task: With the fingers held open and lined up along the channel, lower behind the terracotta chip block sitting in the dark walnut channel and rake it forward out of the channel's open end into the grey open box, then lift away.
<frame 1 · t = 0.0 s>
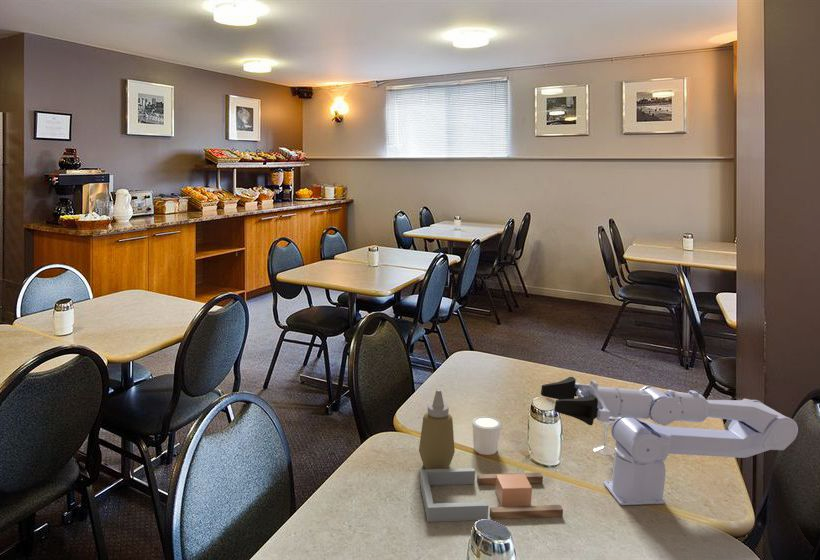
hand: (548, 397, 103), 22 cm above the table, tool horizontal, fingers open, 7 cm apart
channel: (517, 497, 106), on the table
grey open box: (454, 499, 105), on the table
squeeze bottle: (436, 466, 118), on the table
wineglass: (604, 450, 126), on the table
white cup: (485, 449, 126), on the table
chip block: (512, 498, 106), on the table
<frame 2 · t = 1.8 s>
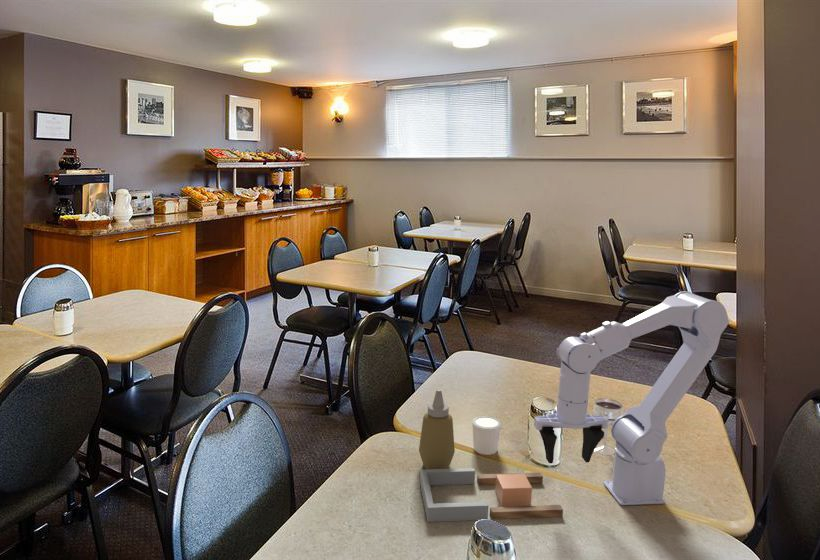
hand: (567, 460, 106), 8 cm above the table, tool pointing down, fingers open, 7 cm apart
nothing on the table moved.
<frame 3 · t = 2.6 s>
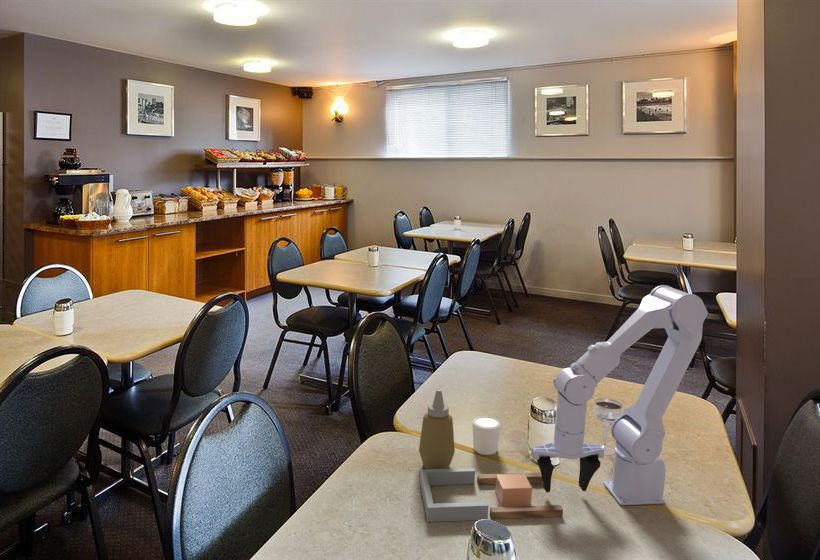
hand: (564, 489, 107), 2 cm above the table, tool pointing down, fingers open, 7 cm apart
nothing on the table moved.
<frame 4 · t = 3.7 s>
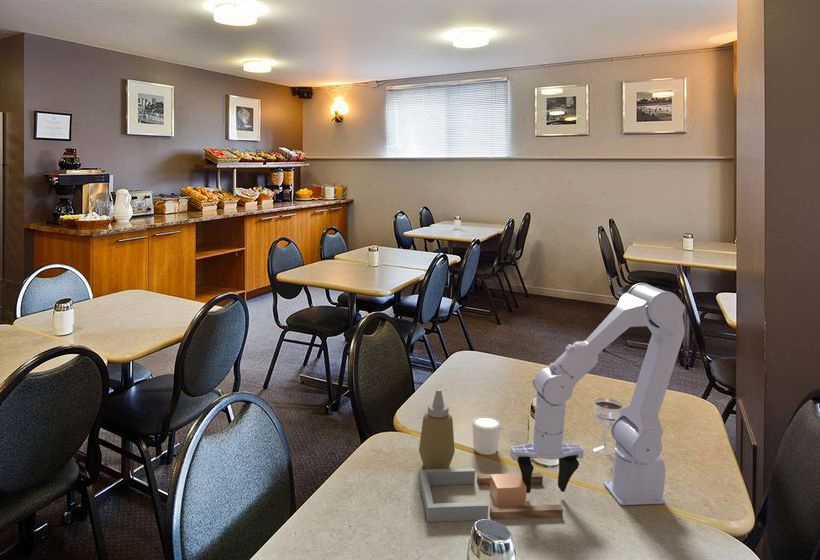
hand: (544, 489, 106), 2 cm above the table, tool pointing down, fingers open, 7 cm apart
chip block: (507, 498, 106), on the table, touching gripper
everything else where it was.
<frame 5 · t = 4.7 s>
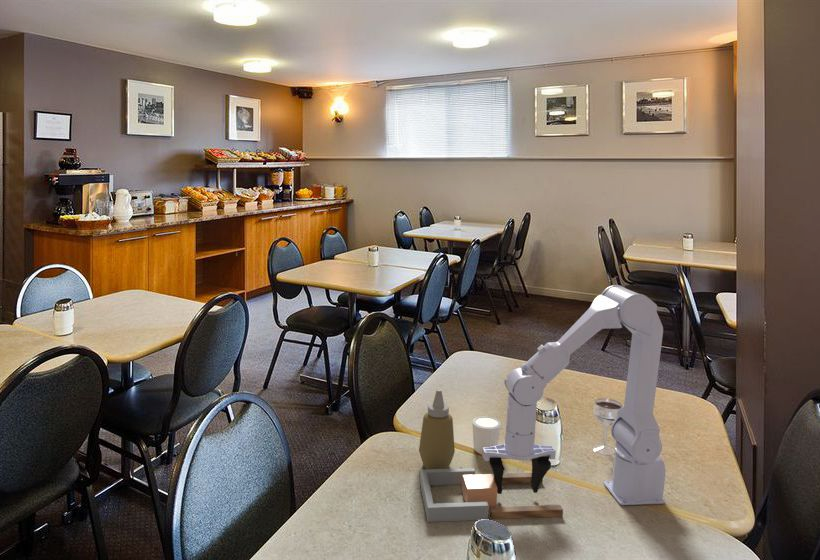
hand: (516, 490, 106), 2 cm above the table, tool pointing down, fingers open, 7 cm apart
chip block: (478, 499, 106), on the table, touching gripper
everything else where it was.
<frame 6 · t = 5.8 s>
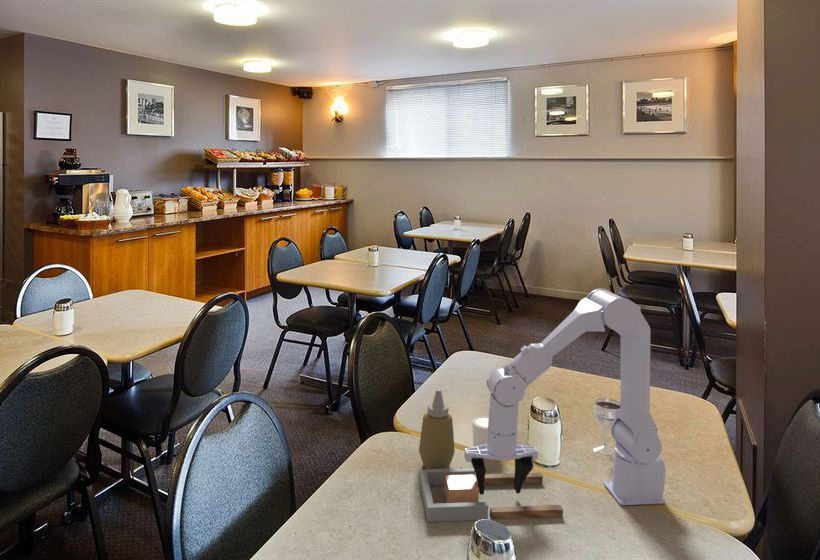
hand: (498, 491, 106), 2 cm above the table, tool pointing down, fingers open, 7 cm apart
chip block: (461, 499, 105), on the table, touching gripper
everything else where it was.
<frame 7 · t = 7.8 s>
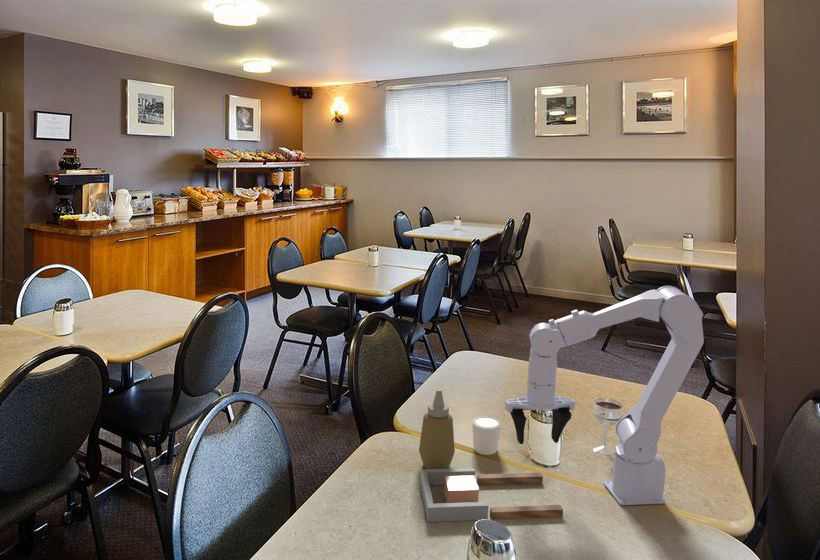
hand: (537, 441, 111), 9 cm above the table, tool pointing down, fingers open, 7 cm apart
chip block: (460, 500, 105), on the table
everything else where it was.
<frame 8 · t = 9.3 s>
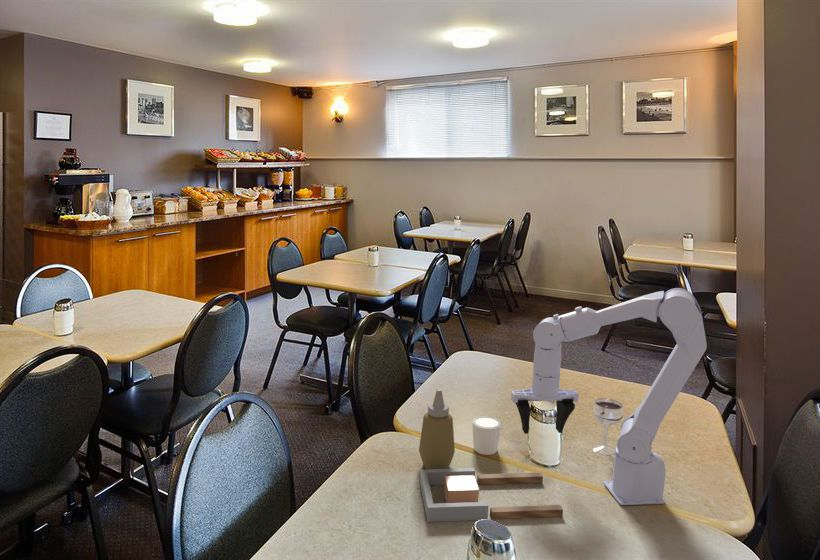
hand: (542, 431, 115), 9 cm above the table, tool pointing down, fingers open, 7 cm apart
nothing on the table moved.
at the end: chip block inside the target area (1.0 cm from its centre), on the table; chip block tilted 0° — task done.
